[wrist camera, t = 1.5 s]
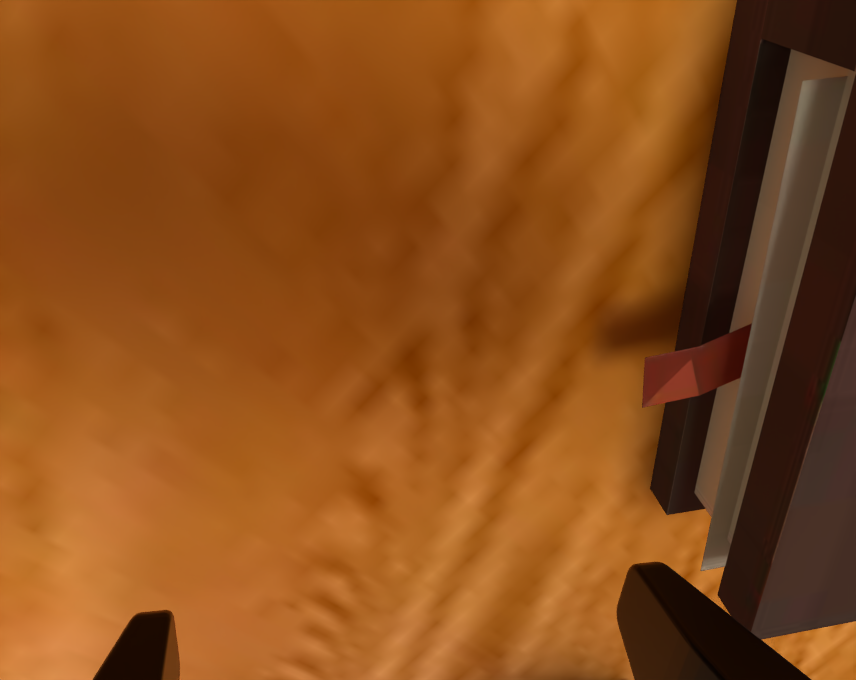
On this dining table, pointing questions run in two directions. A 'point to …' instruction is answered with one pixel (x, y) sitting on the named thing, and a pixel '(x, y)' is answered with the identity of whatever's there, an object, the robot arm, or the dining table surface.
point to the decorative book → (772, 327)
